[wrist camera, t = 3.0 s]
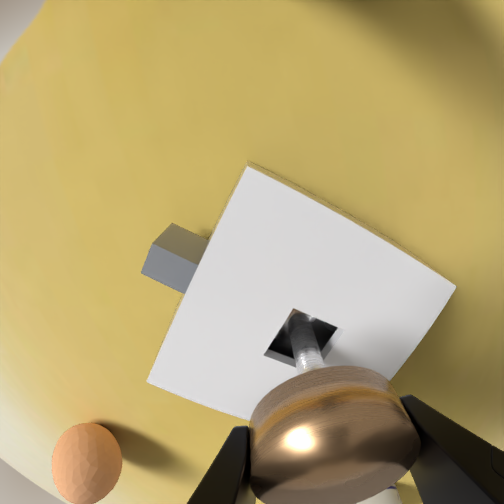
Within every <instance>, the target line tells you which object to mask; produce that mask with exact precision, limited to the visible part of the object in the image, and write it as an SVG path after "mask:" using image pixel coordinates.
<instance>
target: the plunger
mask: <svg viewBox="0 0 504 504" xmlns="http://www.w3.org/2000/svg"><path fill="white" fill-rule="evenodd" d="M337 328H338V327H336V326H334V325H331V324H329V323H327V322H324V321H322V320H320V319H317V318H315V317H313V316H310V315H308V314H306V313H304V312H301V311H299V310H297V309H294V308H293V309H292V311H291V313H290V314H289V316H288V317H287V319H286V321H285V322H284V324H283V325H282V327H281V329H280V330H279V332H278V333H277V335H276V336H275V338H274V340H273V341H272V343H271V344H270V346H269V347H268V349H269V350H271V351H274V352H277V353H279V354H282V355H284V356H287V357H290V358H292V359H295V363H296V368H297V373H298V375H297V376H295V377H293V378H291V379H288V380H287V381H285V382H283V383H281V384H280V385H278V386H277V387H275V388H274V389H272V390H271V391H270V392H269V393H268V394H267V395H265V396H264V397H263V398H262V400H261V401H260V402H259V403H258V404H257V406H256V407H255V409H254V411H253V413H252V415H251V418H250V423H249V442H250V487H251V490H252V492H253V494H254V495H255V496H256V497H257V498H258V499H259V500H261V501H262V502H263V503H265V504H356V503H359V502H361V501H364V500H366V499H368V498H371V497H373V496H375V495H377V494H378V493H380V492H382V491H384V490H385V489H387V488H389V487H390V486H391V485H393V484H394V483H396V482H397V481H398V480H399V479H400V478H402V477H403V476H404V475H405V474H406V473H407V472H408V471H409V469H410V468H411V467H412V466H413V464H414V463H415V461H416V459H417V458H418V455H419V453H420V448H421V440H420V437H419V435H418V433H417V431H416V429H415V427H414V425H413V423H412V421H411V419H410V417H409V415H408V414H407V412H406V410H405V408H404V406H403V404H402V402H401V400H400V398H399V397H398V395H397V393H396V391H395V389H394V387H393V386H392V384H391V383H390V381H389V380H388V379H387V378H386V377H384V376H383V375H381V374H380V373H378V372H376V371H374V370H371V369H368V368H364V367H358V366H331V367H325V364H324V361H323V358H322V355H321V351H322V350H323V348H324V347H325V345H326V344H327V343H328V341H329V340H330V338H331V337H332V336H333V334H334V333H335V331H336V330H337Z"/></svg>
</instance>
